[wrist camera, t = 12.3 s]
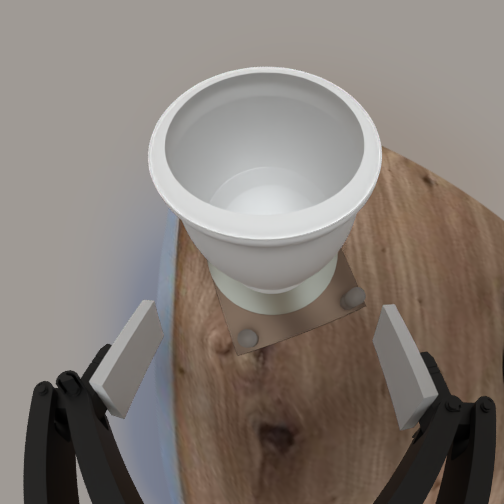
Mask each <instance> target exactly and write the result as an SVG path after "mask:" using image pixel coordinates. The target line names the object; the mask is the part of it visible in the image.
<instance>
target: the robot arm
mask: <svg viewBox="0 0 504 504" xmlns="http://www.w3.org/2000/svg"><path fill="white" fill-rule="evenodd" d="M163 337H164V334H163V331H162V327H161V324H160V320H159V317H158V313H157V309H156V306H155V302H154V301H151V300H143V301H142V302H141V304H140V305H139V306H138V308H137V309H136V311H135V312H134V313H133V315H132V316H131V318H130V319H129V321H128V322H127V324H126V325H125V327H124V328H123V330H122V331H121V333H120V334H119V335H118V337H117V339H116V340H115V342H114V343H113V345H110V344H106V345H105V346H104V347H102V348H101V349H100V350H99V352H98V353H97V355H96V357H95V358H94V359H93V361H92V363H91V364H90V365H89V367H88V368H87V370H86V371H85V373H84V374H83V376H82V378H81V379H80V377H79V376H78V374H77V373H76V372H74V371H71V370H70V371H65V372H63V373H61V374H60V375H59V376H58V378H57V380H56V385H57V386H58V388H54V387H53V386H52V384H51V383H50V382H48V381H43V382H40V383H39V384H37V385H36V387H35V388H34V391H33V396H32V401H31V407H30V412H29V419H28V425H27V433H26V442H25V454H24V504H79V497H78V488H77V475H76V457H77V460H78V464H79V467H80V470H81V473H82V477H83V480H84V483H85V485H86V488H87V491H88V494H89V496H90V499H91V501H92V504H144V503H143V501H142V499H141V497H140V495H139V493H138V491H137V489H136V487H135V485H134V483H133V481H132V479H131V477H130V475H129V473H128V471H127V468H126V466H125V464H124V461H123V459H122V457H121V454H120V452H119V449H118V447H117V444H116V441H115V439H114V436H113V433H112V430H111V428H110V425H109V422H108V419H107V416H106V415H105V413H106V410H107V409H108V411H109V412H110V413H111V415H113V416H116V417H119V418H123V419H125V416H126V414H127V412H128V410H129V407H130V405H131V403H132V401H133V399H134V397H135V394H136V392H137V390H138V388H139V386H140V384H141V382H142V380H143V378H144V375H145V373H146V371H147V369H148V367H149V365H150V363H151V361H152V359H153V357H154V355H155V353H156V351H157V349H158V347H159V345H160V343H161V341H162V339H163ZM372 341H373V344H374V347H375V349H376V352H377V355H378V358H379V361H380V364H381V367H382V370H383V373H384V376H385V380H386V383H387V386H388V389H389V392H390V396H391V399H392V403H393V406H394V410H395V413H396V417H397V421H398V424H399V428H400V430H405V429H409V428H413V427H414V426H415V425H416V424H417V423H418V421H419V424H420V428H419V429H418V430H417V432H416V433H415V434H414V435H413V436H412V438H414V439H413V441H412V443H411V445H410V447H409V448H408V450H407V452H406V454H405V456H404V457H403V459H402V461H401V462H400V464H399V466H398V467H397V469H396V471H395V472H394V474H393V475H392V477H391V479H390V480H389V482H388V483H387V485H386V486H385V487H384V489H383V490H382V492H381V493H380V495H379V496H378V497H377V499H376V500H375V501H374V503H373V504H423V502H424V501H425V499H426V497H427V495H428V493H429V492H430V490H431V488H432V486H433V484H434V482H435V480H436V478H437V476H438V474H439V472H440V470H441V468H442V465H443V463H444V461H445V458H446V456H447V459H446V464H445V469H444V473H443V478H442V482H441V486H440V490H439V494H438V497H437V501H436V504H488V502H489V497H490V492H491V486H492V479H493V471H494V461H495V447H496V407H495V403H494V402H493V400H492V399H491V398H489V397H487V396H482V397H480V398H479V399H478V400H477V401H476V402H475V403H463V402H462V401H461V400H460V399H459V398H458V397H456V396H454V395H451V394H450V392H449V389H448V387H447V385H446V383H445V381H444V378H443V376H442V374H441V373H440V370H439V368H438V367H437V364H436V362H435V360H434V358H433V357H432V356H431V355H430V354H429V353H428V352H422V353H420V352H419V350H418V348H417V346H416V344H415V342H414V340H413V338H412V336H411V334H410V332H409V330H408V329H407V327H406V325H405V323H404V321H403V319H402V317H401V315H400V313H399V312H398V310H397V308H396V306H395V304H392V305H383V306H382V310H381V314H380V317H379V321H378V324H377V327H376V331H375V334H374V337H373V340H372ZM503 370H504V364H503ZM75 456H76V457H75Z"/></svg>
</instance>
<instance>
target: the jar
mask: <svg viewBox="0 0 504 504" xmlns="http://www.w3.org/2000/svg"><path fill="white" fill-rule="evenodd" d="M381 162H382V149H381V142H380V138H379V135H378V132H377V129H376V127H375V125H374V123H373V121H372V119H371V118H370V116H369V115H368V113H367V112H366V111H365V109H364V108H363V107H362V106H361V105H360V104H359V103H358V102H357V101H356V100H355V99H354V98H353V97H352V96H350V94H348V93H347V92H346V91H344V90H343V89H341V88H340V87H338V86H337V85H335V84H333V83H331V82H329V81H327V80H325V79H323V78H321V77H318V76H316V75H312V74H310V73H306V72H303V71H299V70H294V69H288V68H280V67H252V68H244V69H239V70H233V71H230V72H226V73H223V74H220V75H216V76H214V77H211V78H209V79H207V80H205V81H203V82H201V83H199V84H197V85H195V86H193V87H192V88H190V89H189V90H187V91H186V92H185V93H183V94H182V95H181V96H179V97H178V98H177V99H176V100H175V101H174V102H173V103H172V104H171V105H170V106H169V107H168V108H167V110H166V111H165V112H164V113H163V115H162V116H161V118H160V119H159V121H158V122H157V124H156V126H155V128H154V131H153V133H152V136H151V139H150V144H149V149H148V164H149V171H150V174H151V178H152V180H153V183H154V185H155V187H156V189H157V190H158V192H159V193H160V195H161V197H162V199H163V200H164V202H165V203H166V204H167V206H168V207H169V208H170V209H171V211H172V212H173V213H174V214H175V215H176V216H177V217H178V218H180V219H181V220H182V222H183V224H184V226H185V228H186V230H187V232H188V234H189V236H190V238H191V239H192V241H193V242H194V244H195V245H196V247H197V248H198V249H199V251H200V252H201V253H202V254H203V255H204V257H205V258H206V259H207V260H208V261H209V262H210V263H211V264H213V265H214V266H215V267H216V268H217V269H219V270H220V271H221V272H223V273H224V274H226V275H227V276H229V277H231V278H233V279H234V280H237V281H239V282H240V283H242V284H243V285H244V286H246V287H248V288H249V289H251V290H254V291H257V292H260V293H265V294H278V293H283V292H287V291H290V290H292V289H294V288H296V287H297V286H299V285H300V284H301V283H303V282H304V281H305V280H306V279H308V278H310V277H311V276H313V275H314V274H316V273H317V272H319V271H320V270H321V269H322V268H324V267H325V266H326V265H327V264H328V263H329V262H330V261H331V260H332V259H333V258H334V256H335V255H336V254H337V253H338V251H339V250H340V249H341V247H342V246H343V244H344V242H345V241H346V239H347V237H348V235H349V233H350V231H351V228H352V226H353V223H354V220H355V217H356V214H357V213H358V212H359V211H360V209H361V208H362V207H363V206H364V205H365V203H366V202H367V200H368V199H369V197H370V195H371V194H372V192H373V190H374V187H375V185H376V182H377V179H378V176H379V172H380V168H381Z"/></svg>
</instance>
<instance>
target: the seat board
mask: <svg viewBox="0 0 504 504" xmlns="http://www.w3.org/2000/svg"><path fill="white" fill-rule="evenodd" d="M207 262H208V266H209V270H210V273H211V276H212V279H213V282H214V285H215V289H216V292H217V295H218V298H219V301H220V305H221V308H222V311H223V314H224V317H225V320H226V323H227V326H228V329H229V332H230V335H231V338H232V341H233V344H234V347H235V350H236V353H237V356H238V355H242V354H245V353H248V352H251V351H254V350H257V349H260V348H263V347H266V346H269V345H272V344H275V343H277V342H280V341H283V340H286V339H288V338H291V337H294V336H296V335H299V334H302V333H304V332H307V331H309V330H312V329H314V328H317V327H319V326H322V325H324V324H327V323H329V322H331V321H334V320H336V319H338V318H341V317H343V316H345V315H348V314H350V313H352V312H354V311H357V310H359V309H361V308H363V307H365V306H366V305H365V302H364V300H365V292H364V290H363V289H361V288H360V287H358V285H357V283H356V281H355V278H354V276H353V274H352V271H351V269H350V267H349V265H348V262H347V260H346V258H345V256H344V254H343V251H342V249H340V250H339V251H338V253H337V254H336V255H335V256H334V258H333V259H332V260H331V261H330V262H329V263H328V264H327V265H326V266H325V267H324V268H322V269H321V270H320V271H319V272H317V273H316V274H314V275H313V276H311V277H310V278H308V279H306V280H305V281H304V282H303V283H301V284H300V285H299V286H297V287H296V288H294V289H292V290H290V291H287V292H283V293H278V294H265V293H260V292H257V291H254V290H251V289H249V288H248V287H246V286H244V285H243V284H242V283H240V282H239V281H237V280H234V279H233V278H231V277H229V276H227V275H226V274H224V273H223V272H221V271H220V270H219V269H217V268H216V267H215V266H214V265H213V264H211V263H210V262H209V261H208V260H207Z"/></svg>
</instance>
